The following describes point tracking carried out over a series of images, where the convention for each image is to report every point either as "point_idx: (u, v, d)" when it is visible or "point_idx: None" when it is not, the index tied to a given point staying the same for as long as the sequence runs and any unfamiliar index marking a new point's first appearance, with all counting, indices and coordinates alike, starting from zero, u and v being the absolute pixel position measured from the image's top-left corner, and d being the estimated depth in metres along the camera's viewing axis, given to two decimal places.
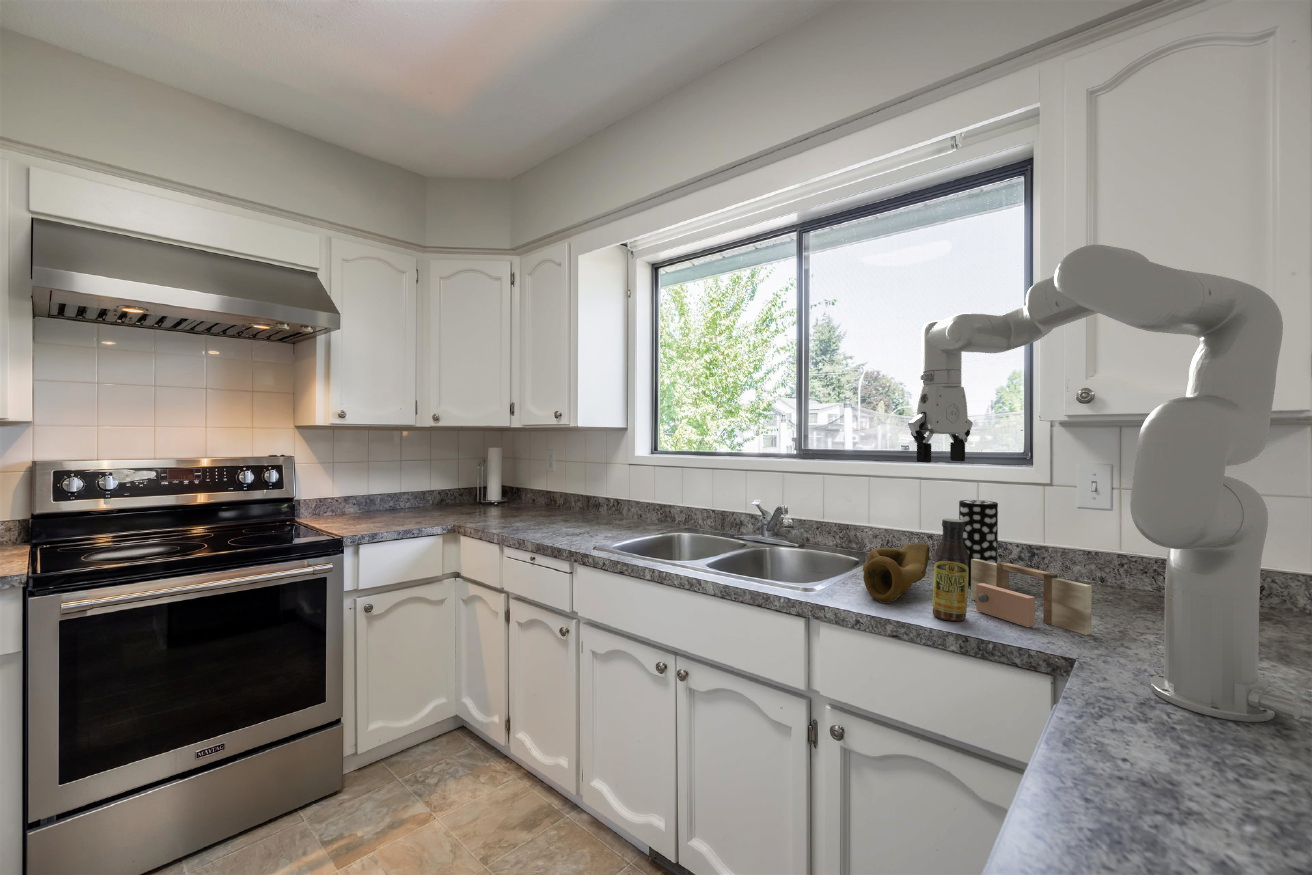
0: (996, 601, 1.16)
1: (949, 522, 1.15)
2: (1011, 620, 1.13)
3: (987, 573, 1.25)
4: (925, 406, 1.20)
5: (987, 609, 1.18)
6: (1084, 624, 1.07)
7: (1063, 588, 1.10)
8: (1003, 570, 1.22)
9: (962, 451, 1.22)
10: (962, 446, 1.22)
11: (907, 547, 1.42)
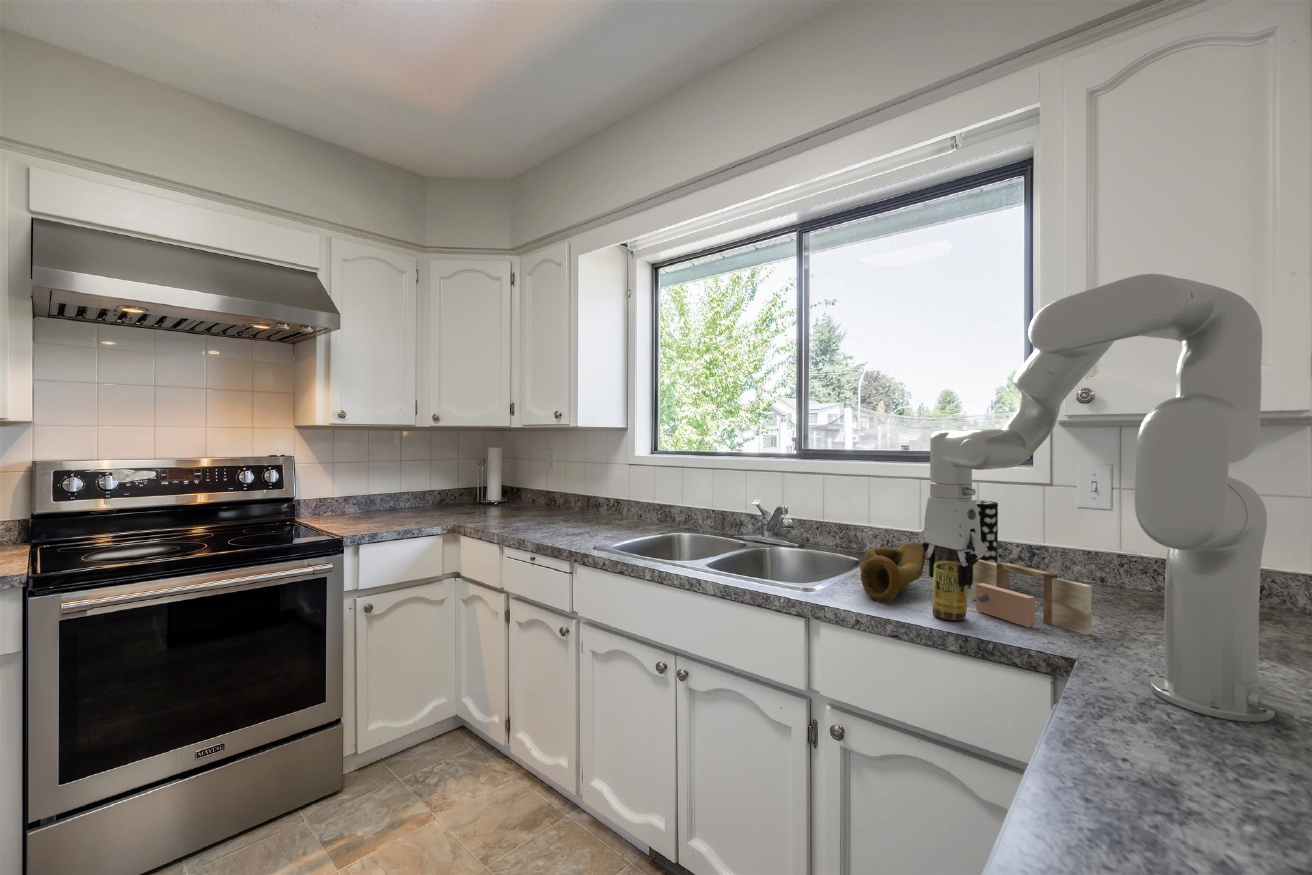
0: (996, 601, 1.16)
1: None
2: (1011, 620, 1.13)
3: (987, 573, 1.25)
4: (974, 522, 1.12)
5: (987, 609, 1.18)
6: (1084, 624, 1.07)
7: (1063, 588, 1.10)
8: (1003, 570, 1.22)
9: None
10: None
11: (904, 546, 1.43)
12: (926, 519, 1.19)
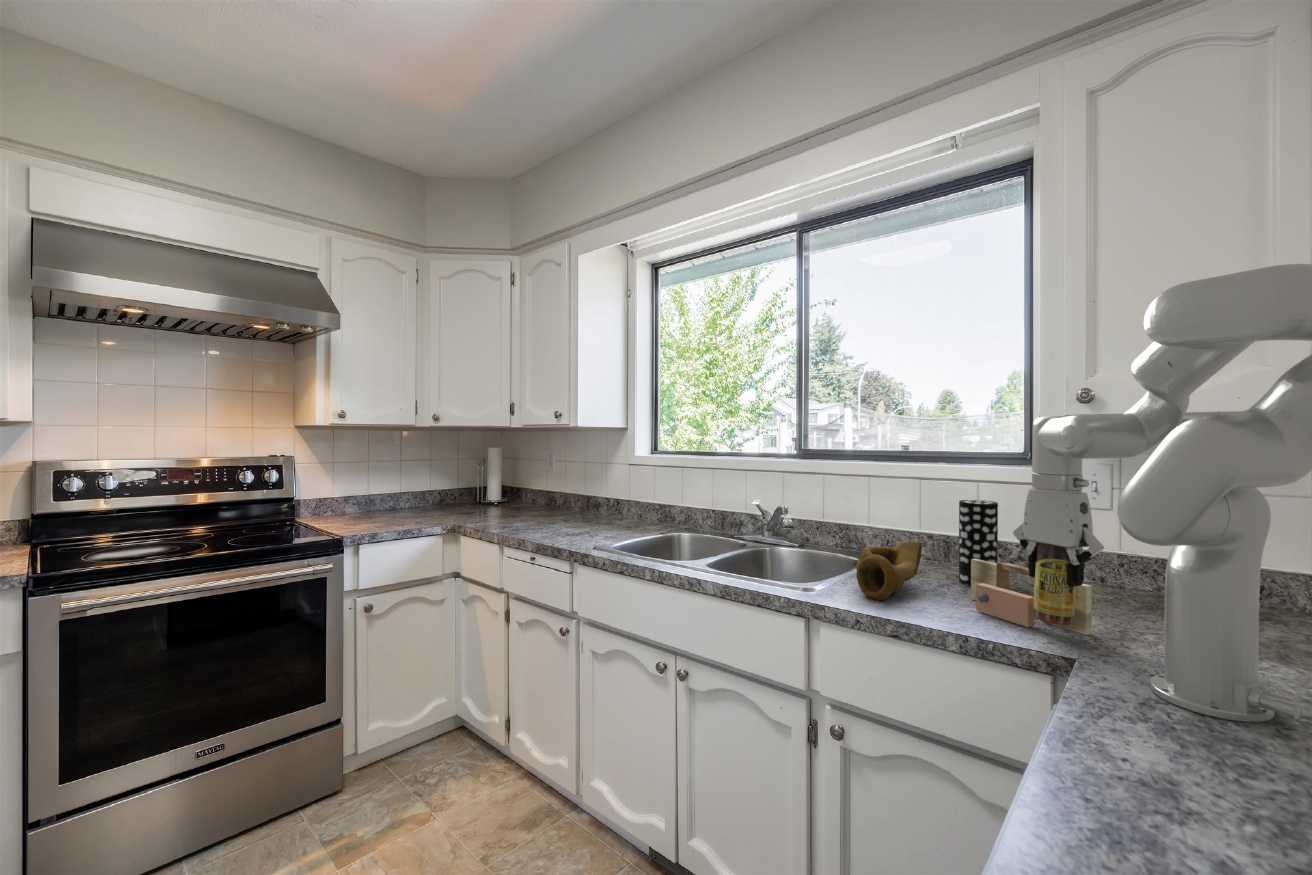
0: (996, 601, 1.16)
1: None
2: (1011, 620, 1.13)
3: (987, 573, 1.25)
4: (1086, 517, 1.02)
5: (987, 609, 1.18)
6: (1084, 624, 1.07)
7: None
8: (1003, 570, 1.22)
9: None
10: None
11: (900, 545, 1.44)
12: (1026, 513, 1.09)
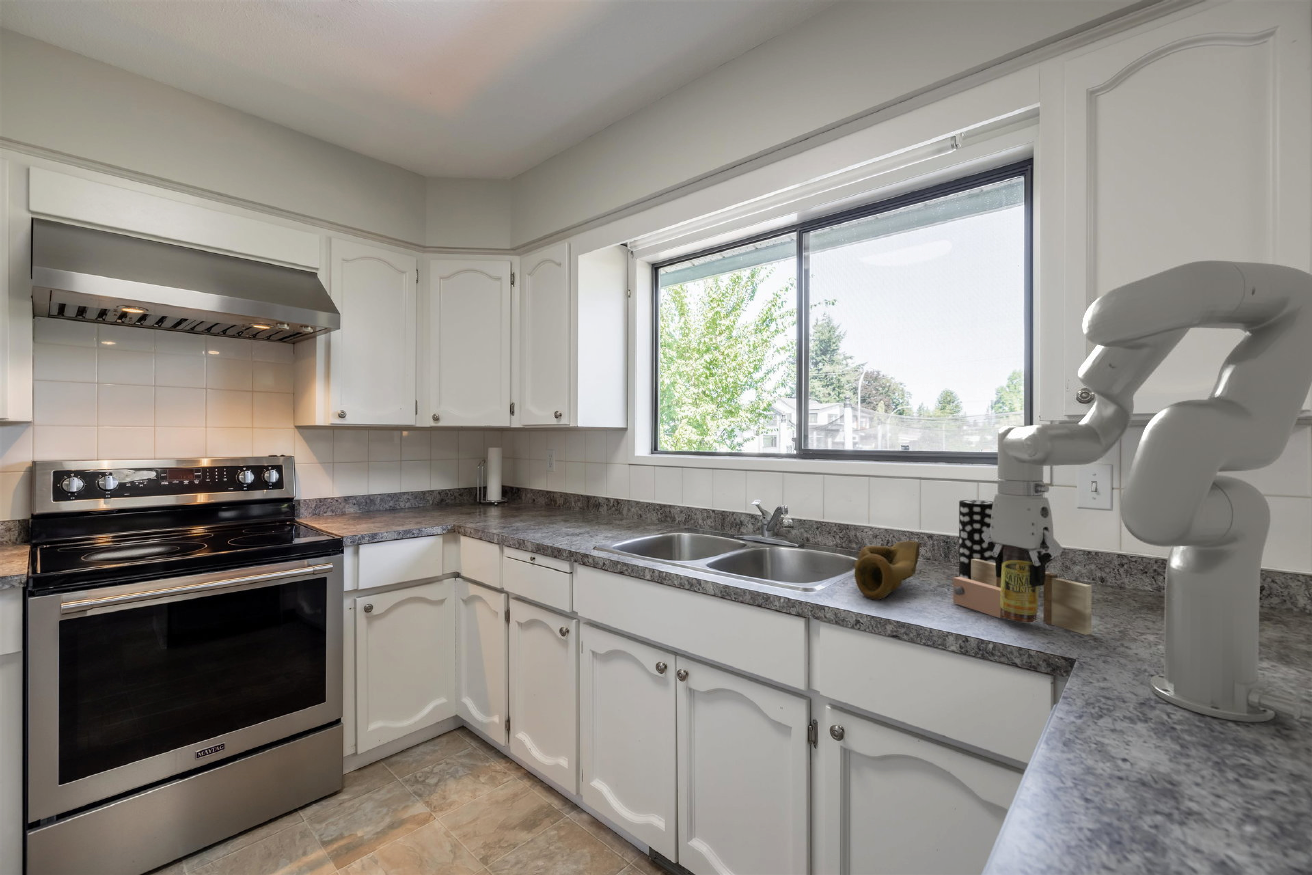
0: (972, 594, 1.21)
1: None
2: (985, 612, 1.18)
3: (987, 573, 1.25)
4: (1047, 520, 1.08)
5: (963, 602, 1.23)
6: (1084, 624, 1.07)
7: (1063, 588, 1.10)
8: None
9: None
10: None
11: (898, 545, 1.44)
12: (993, 517, 1.15)
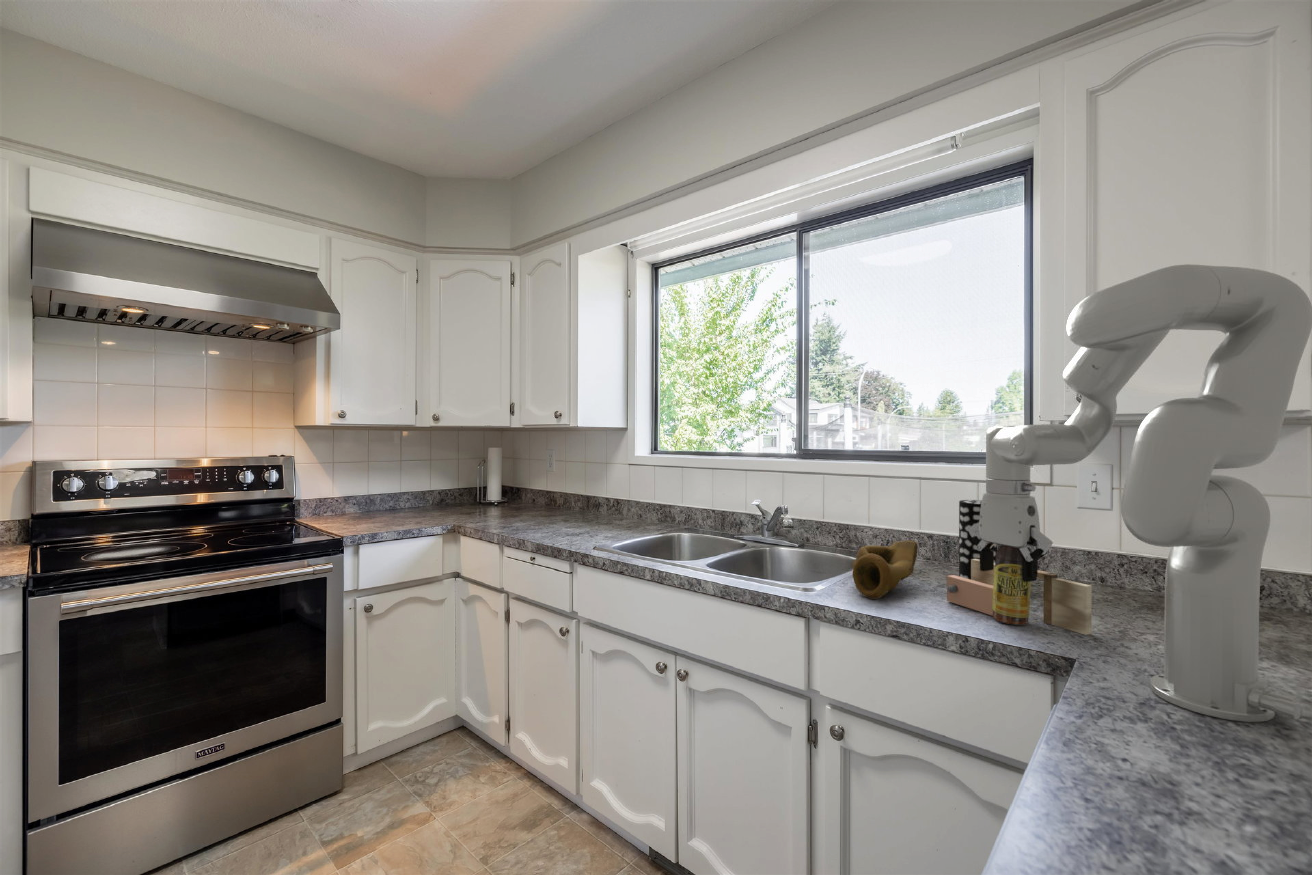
0: (965, 592, 1.23)
1: None
2: (978, 609, 1.20)
3: (987, 573, 1.25)
4: (1033, 519, 1.10)
5: (956, 599, 1.25)
6: (1084, 624, 1.07)
7: (1063, 588, 1.10)
8: None
9: (993, 559, 1.19)
10: (993, 554, 1.19)
11: (896, 544, 1.45)
12: (981, 516, 1.18)
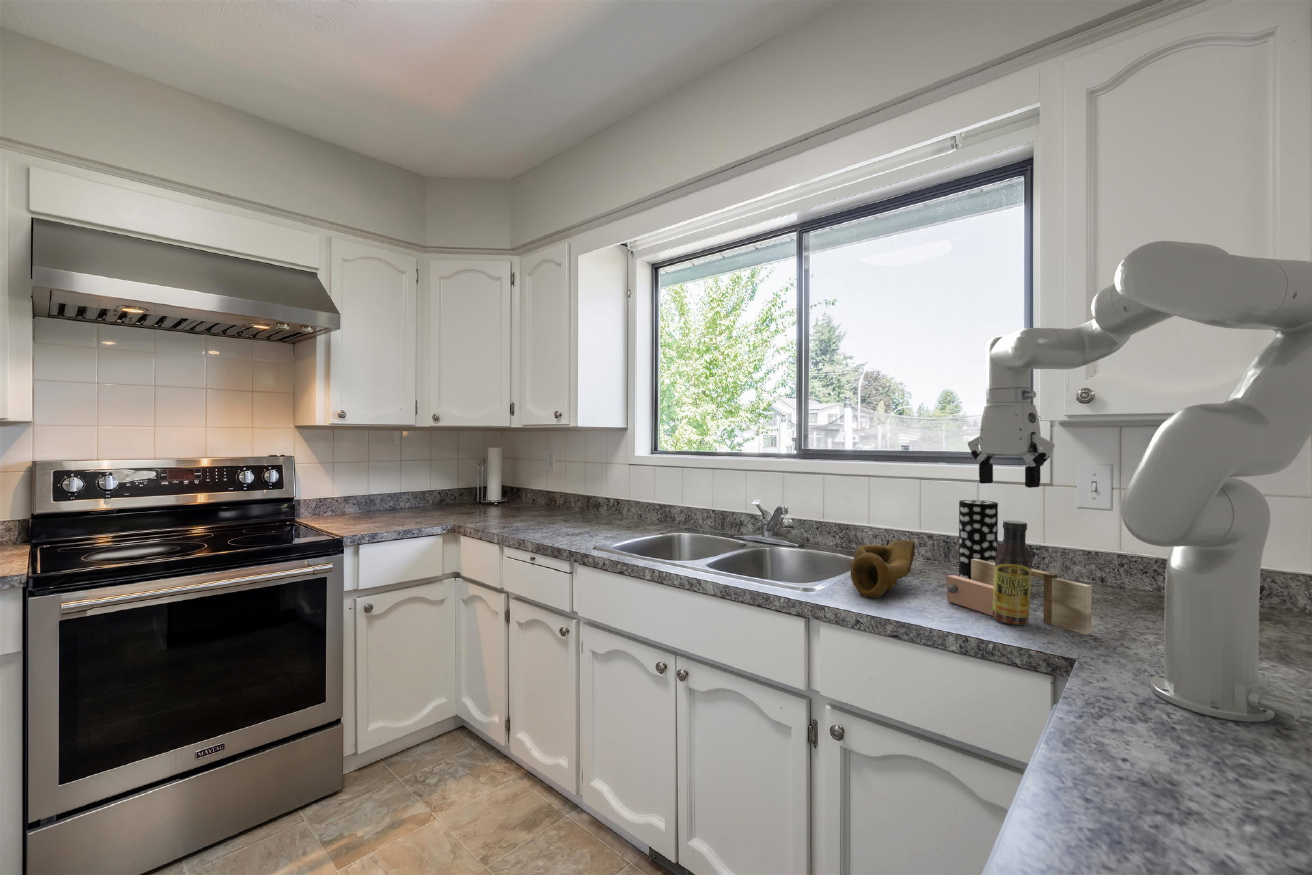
0: (965, 592, 1.23)
1: (1011, 524, 1.12)
2: (978, 609, 1.20)
3: (987, 573, 1.25)
4: (1034, 426, 1.10)
5: (956, 599, 1.25)
6: (1084, 624, 1.07)
7: (1063, 588, 1.10)
8: None
9: (992, 472, 1.19)
10: (992, 467, 1.19)
11: (894, 544, 1.45)
12: (982, 429, 1.17)
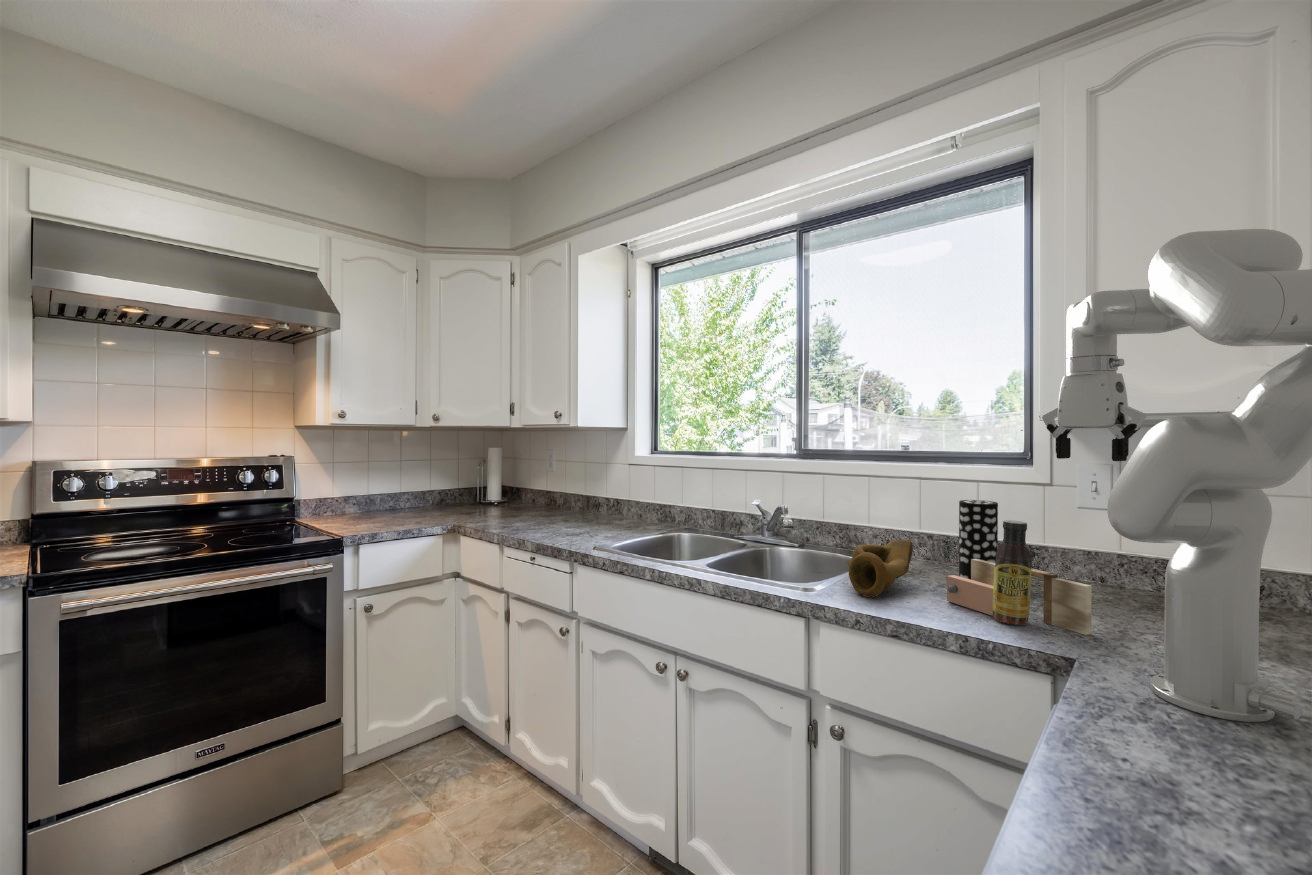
0: (965, 592, 1.23)
1: (1011, 524, 1.12)
2: (978, 609, 1.20)
3: (987, 573, 1.25)
4: (1122, 396, 1.03)
5: (956, 599, 1.25)
6: (1084, 624, 1.07)
7: (1063, 588, 1.10)
8: None
9: (1069, 447, 1.13)
10: (1070, 442, 1.13)
11: (891, 543, 1.46)
12: (1061, 401, 1.11)
